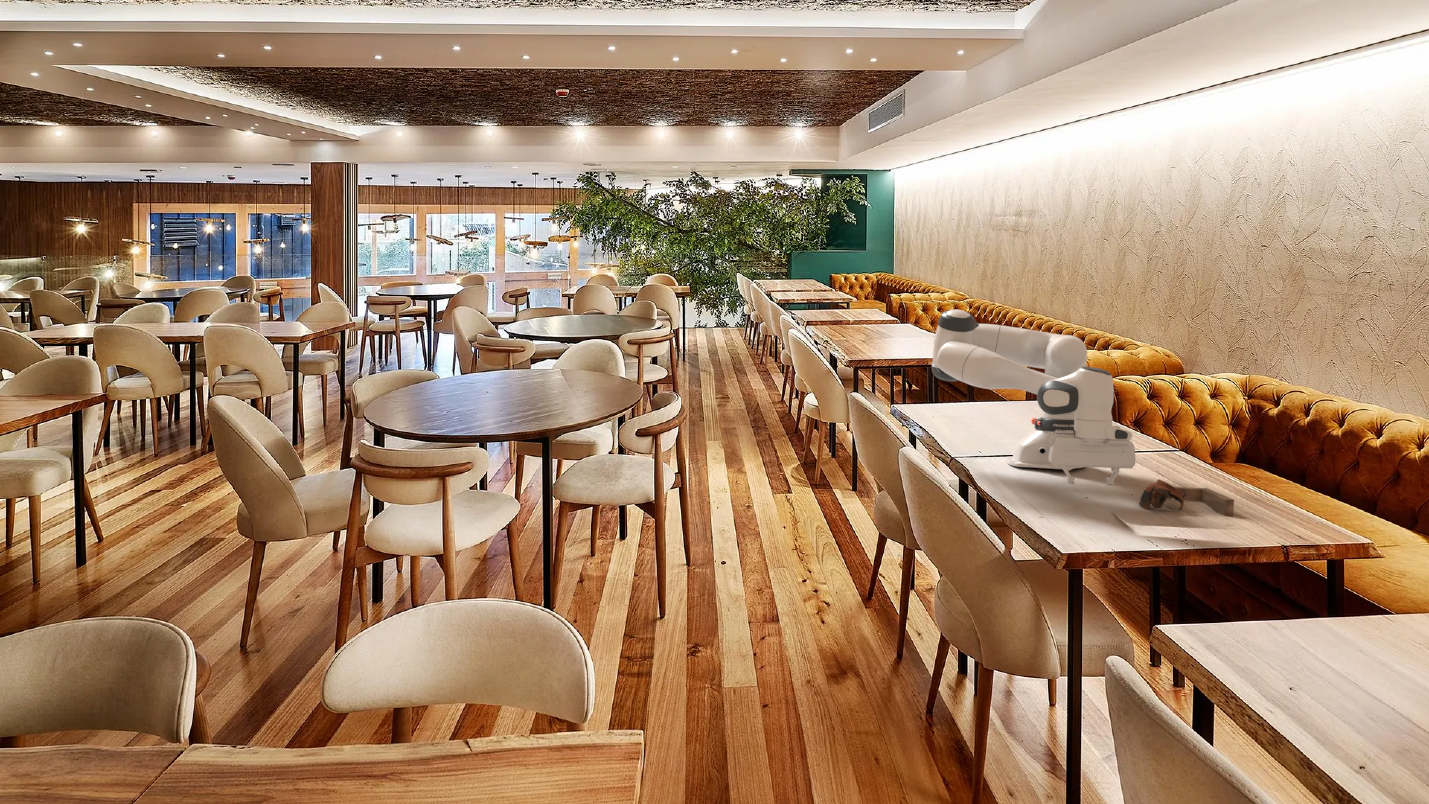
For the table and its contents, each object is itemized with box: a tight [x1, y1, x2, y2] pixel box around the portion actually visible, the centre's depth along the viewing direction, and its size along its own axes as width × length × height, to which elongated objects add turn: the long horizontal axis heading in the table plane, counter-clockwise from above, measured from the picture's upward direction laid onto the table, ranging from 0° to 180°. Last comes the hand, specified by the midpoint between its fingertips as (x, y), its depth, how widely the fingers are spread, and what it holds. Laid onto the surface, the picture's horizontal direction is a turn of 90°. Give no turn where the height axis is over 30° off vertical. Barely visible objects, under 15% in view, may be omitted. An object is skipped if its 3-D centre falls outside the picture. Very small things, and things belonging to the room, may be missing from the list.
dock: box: [1153, 486, 1235, 517], centre depth 207 cm, size 13×16×4 cm
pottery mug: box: [1138, 479, 1185, 511], centre depth 205 cm, size 12×9×8 cm
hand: (1090, 484), depth 208 cm, fingers open, 8 cm apart
